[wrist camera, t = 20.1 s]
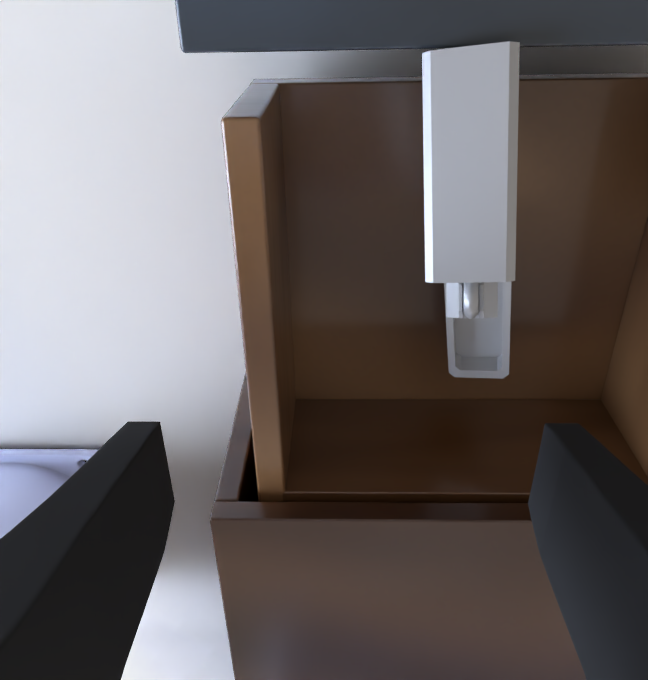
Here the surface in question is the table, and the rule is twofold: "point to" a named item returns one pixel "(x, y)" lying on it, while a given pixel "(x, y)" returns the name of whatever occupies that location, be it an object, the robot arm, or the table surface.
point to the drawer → (409, 254)
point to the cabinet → (381, 586)
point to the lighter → (472, 198)
